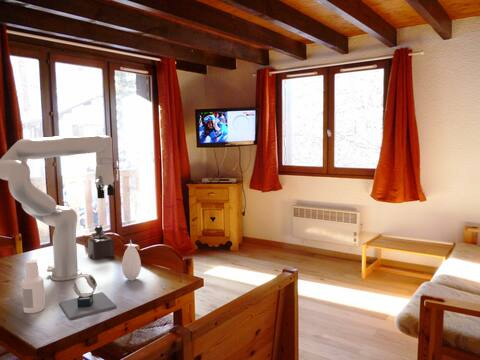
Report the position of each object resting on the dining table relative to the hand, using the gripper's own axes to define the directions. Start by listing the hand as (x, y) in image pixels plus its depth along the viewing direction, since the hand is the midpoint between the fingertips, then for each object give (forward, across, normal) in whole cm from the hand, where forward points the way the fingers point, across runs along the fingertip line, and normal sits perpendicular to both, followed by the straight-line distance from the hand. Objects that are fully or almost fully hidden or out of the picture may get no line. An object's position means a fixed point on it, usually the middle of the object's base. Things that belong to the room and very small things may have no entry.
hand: (105, 196), depth 190 cm
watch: (+33, +48, +16) cm, 60 cm away
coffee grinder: (+34, -9, -8) cm, 36 cm away
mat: (+33, +48, +16) cm, 61 cm away
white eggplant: (+34, +20, +21) cm, 44 cm away
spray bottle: (+34, +54, -1) cm, 63 cm away
